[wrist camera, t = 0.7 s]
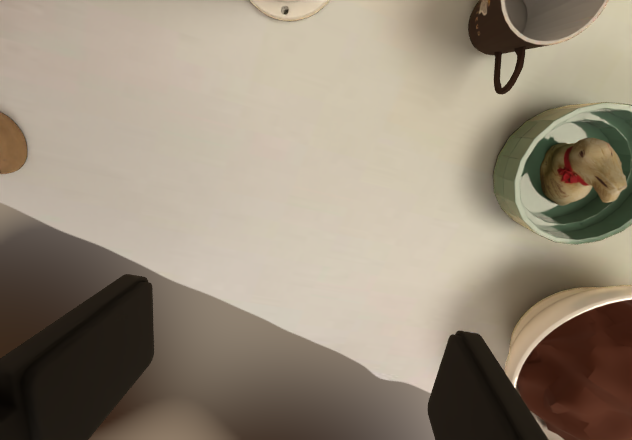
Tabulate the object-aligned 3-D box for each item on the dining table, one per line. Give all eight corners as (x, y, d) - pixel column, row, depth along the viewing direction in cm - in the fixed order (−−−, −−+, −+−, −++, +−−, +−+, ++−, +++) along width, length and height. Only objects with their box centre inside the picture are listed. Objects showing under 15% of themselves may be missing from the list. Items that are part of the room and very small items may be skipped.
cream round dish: (708, 308, 42) (897, 404, 28) (576, 424, 50) (671, 546, 35) (555, 223, 40) (672, 279, 26) (443, 357, 48) (486, 457, 34)
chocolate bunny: (596, 144, 37) (684, 152, 27) (565, 206, 39) (636, 233, 30) (551, 133, 37) (623, 137, 27) (522, 196, 39) (580, 219, 30)
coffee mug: (499, -43, 32) (563, -111, 23) (557, 11, 33) (642, -32, 24) (423, 57, 36) (451, 34, 26) (477, 104, 37) (524, 97, 27)
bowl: (511, 99, 36) (539, 95, 31) (646, 112, 36) (698, 110, 30) (478, 221, 41) (498, 235, 36) (596, 234, 40) (634, 251, 35)
